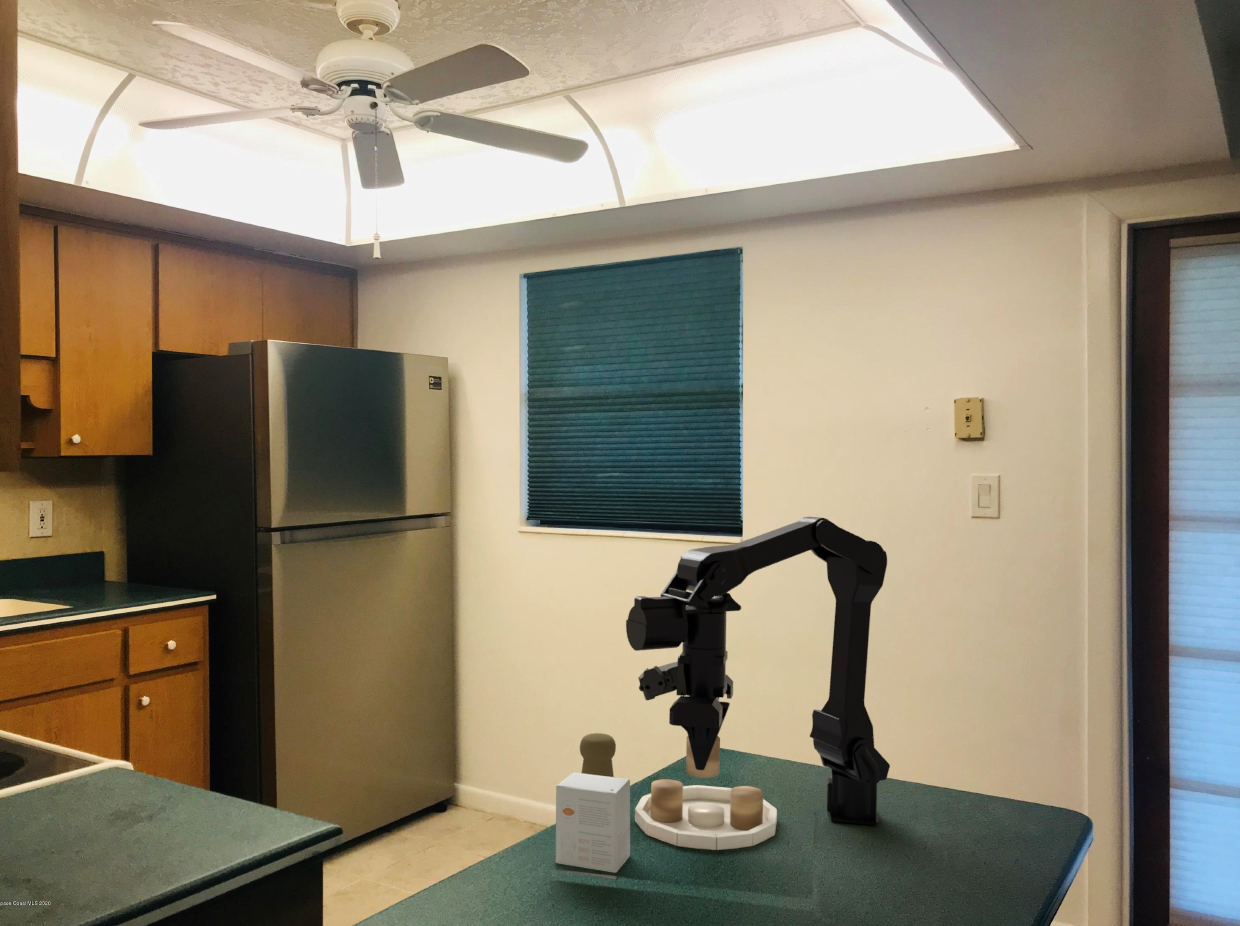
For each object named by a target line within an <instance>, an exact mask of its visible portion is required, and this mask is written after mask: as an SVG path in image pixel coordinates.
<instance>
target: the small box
mask: <svg viewBox="0 0 1240 926" xmlns="http://www.w3.org/2000/svg"><path fill="white" fill-rule="evenodd" d="M555 788H556V789H555V863H556V864H560V865H565V866H571V867H580V868H584V869H590V870H597V871H603V872H609V873H618V871H619V870H620V869H621V868H622V867H623V866H624V864H625V863H626V862H627V860H628V859H629V858H630V856H631V779H629V778H623V777H615V776H614V777H608V776H599V775H591V774H582V772H572V773H570V774H569V775H567V777H565V778H564V779H563V780H562V781H561V782H559V783H558V784H557V785H556V786H555ZM555 871H558V872H563V871H564V872H565V873H569V874H576V875H583V876H588V877H589V876H590V877H595V878H599V879H600V878H601V879H608V880H614V881H615V880H617V878H618V877H619V876H617V875H610V874H600V873H591V872H584V871H583V872H582V871H575V870H567V869H566V870H565V869H557V868H556V869H555Z"/></svg>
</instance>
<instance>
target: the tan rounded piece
mask: <svg viewBox="0 0 1240 926" xmlns="http://www.w3.org/2000/svg"><path fill="white" fill-rule="evenodd" d="M763 799H764V792H763V790H762V789H760V788H758V787H755V786H749V785H740V786H735V787H732V788H731V796H730V825H731V826H732V827H733V828H735V829H738V830H743V831H748V830H751V829H753V828H755V827H757V826H759V825H761V824H763Z"/></svg>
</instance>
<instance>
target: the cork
mask: <svg viewBox="0 0 1240 926" xmlns="http://www.w3.org/2000/svg"><path fill="white" fill-rule="evenodd" d="M616 746H617V744H616V741H615V739H614V738H613V736H612V735H609V734H606V733H601V732H599V733H597V732H596V733H595V732H594V733H588V734H586V735H584V736H583V737H582V739H581V740H580V744H579V753H580V755H581V757H582V758H583V760H582V766H581V773H582V774H591V775H599V776H608V777H615V776H614V767H613V758H614V756H615V753H616V751H617V749H616V748H617V747H616Z"/></svg>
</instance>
